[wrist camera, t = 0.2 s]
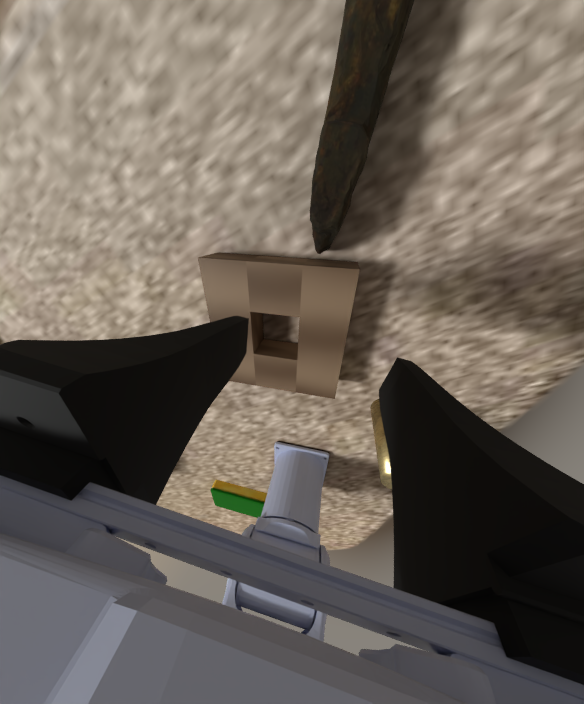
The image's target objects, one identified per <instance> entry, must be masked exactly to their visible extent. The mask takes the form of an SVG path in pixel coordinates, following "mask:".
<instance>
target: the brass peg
mask: <svg viewBox="0 0 584 704" xmlns="http://www.w3.org/2000/svg"><path fill="white" fill-rule="evenodd" d="M371 415H372V422H373V429H374V437H375V444H376V451H377V458H378V466H379V473H380V480H381V483H382V484H383V485H384V486H385V487H387V488H388V489H391V490H392V481H391V469H390V460H389V454H388V448H387V443H386V438H385V433H384V428H383V423H382V418H381V412H380V403H379V399H378V400H376V401H374V402H373V403H372V405H371Z"/></svg>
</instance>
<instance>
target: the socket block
mask: <svg viewBox="0 0 584 704" xmlns="http://www.w3.org/2000/svg"><path fill="white" fill-rule="evenodd" d="M198 261H199V266H200V272H201V277H202V282H203V287H204V292H205V297H206V303H207V308H208V313H209V318H210V322H213V321H217V320H220V319H224V318H227V317H231V316H241V317H245V318H249V324H248V338H247V352H246V355H245V357H244V359H243V360H242V362H241V364H240V366H239V368H238V369H237V370H236V372H235V373H234V375H233V376H232V377H231V379H230V380H229V381H233V382H239V383H245V384H251V385H257V386H263V387H269V388H274V389H280V390H286V391H292V392H298V393H304V394H309V395H315V396H321V397H327V398H333V399H335V395H336V389H337V384H338V379H339V374H340V369H341V364H342V359H343V354H344V348H345V343H346V338H347V333H348V328H349V323H350V318H351V312H352V307H353V302H354V297H355V292H356V287H357V282H358V276H359V271H360V268H359V265H358V262H348V261H333V260H318V259H304V258H289V257H274V256H259V255H245V254H230V253H214V254H210V255H206V256H202V257H198ZM262 313H267V314H276V315H285V316H294V317H300V321H299V339H298V343H290V342H283V341H275V340H268V339H264V335H263V314H262Z"/></svg>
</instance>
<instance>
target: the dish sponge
mask: <svg viewBox="0 0 584 704" xmlns="http://www.w3.org/2000/svg"><path fill="white" fill-rule="evenodd" d="M211 493H212V496H213V500H214V503H215V505H216V506H219V507H222V508H226V509H229V510H233V511H236V512H239V513H243V514H246V515H250V516H253V517H257V518H258V517H261V514H262V510H263V507H264V503H265V500H266V496H267V493H263V492H260V491H256V490H252V489H249V488H245V487H241V486H238V485H234V484H230V483H227V482H223V481H219V480H215V482H214V484H213V486H212V488H211Z"/></svg>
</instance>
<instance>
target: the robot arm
mask: <svg viewBox="0 0 584 704" xmlns="http://www.w3.org/2000/svg"><path fill="white" fill-rule="evenodd" d="M248 324H249V318H245V317H241V316H231V317H227V318H224V319H220V320H217V321H213V322H210V323H207V324H203V325H199V326H195V327H191V328H187V329H183V330H179V331H174V332H169V333H163V334H157V335H151V336H142V337H132V338H123V339H108V340H83V341H51V340H16V341H11V342H7V343H4V344H1V345H0V704H584V484H582V483H580V482H579V481H577V480H575V479H573V478H571V477H570V476H568V475H566V474H565V473H563V472H561V471H559V470H558V469H556V468H555V467H553V466H551V465H550V464H548V463H546V462H544V461H543V460H541V459H540V458H538V457H536V456H535V455H533V454H532V453H530V452H529V451H527V450H526V449H524V448H522V447H521V446H519V445H517V444H516V443H514V442H513V441H512V440H510V439H509V438H507V437H506V436H504V435H503V434H501V433H500V432H498V431H497V430H496V429H494V428H493V427H491V426H490V425H489V424H487V423H486V422H484V421H483V420H482V419H480V418H479V417H478V416H476V415H475V414H474V413H473V412H471V411H470V410H469V409H468V408H466V407H465V406H464V405H463V404H461V403H460V402H459V401H458V400H456V399H455V398H454V397H453V396H452V395H450V394H449V393H448V392H447V391H446V390H445V389H444V388H442V387H441V386H440V385H439V384H438V383H437V382H436V381H434V380H433V379H432V378H431V377H430V376H429V375H428V374H427V373H425V372H424V371H423V370H422V369H421V368H419V367H418V366H417V365H416V364H414V363H413V362H411V361H408V360H404V359H401V358H397V359H396V361H395V363H394V365H393V366H392V368H391V370H390V372H389V373H388V375H387V377H386V379H385V380H384V382H383V384H382V386H381V388H380V389H379V403H380V412H381V418H382V423H383V428H384V433H385V438H386V443H387V448H388V454H389V460H390V469H391V481H392V496H393V516H394V588H392V587H389V586H386V585H383V584H381V583H378V582H375V581H372V580H369V579H366V578H363V577H361V576H358V575H355V574H352V573H349V572H346V571H343V570H341V569H338V568H335V567H332V566H330V558H329V554H328V552H327V551H326V548H325V546H323V545H320V534H318V529H319V517H320V505H321V493H322V487H323V482H324V478H325V473H326V469H327V464H328V460H329V453H327V452H323V451H319V450H314V449H309V448H304V447H300V446H295V445H290V444H286V443H281V442H275V445H274V448H275V468H274V471H273V475H272V479H271V482H270V486H269V489H268V493H267V496H266V500H265V503H264V507H263V510H262V514H261V517H258V518H257V522H256V525H253V524H251V525H249V527H247V528H246V529H245V530H244V531H243V533H242V535H240V534H237V533H234V532H232V531H229V530H226V529H223V528H220V527H217V526H214V525H212V524H209V523H206V522H203V521H200V520H197V519H194V518H191V517H189V516H186V515H183V514H180V513H177V512H174V511H171V510H169V509H166V508H163V507H160V506H157V505H156V504H157V501H158V499H159V497H160V495H161V493H162V491H163V489H164V487H165V485H166V483H167V481H168V479H169V478H170V476H171V474H172V472H173V470H174V468H175V466H176V464H177V462H178V460H179V458H180V457H181V455H182V453H183V451H184V449H185V447H186V445H187V444H188V442H189V440H190V438H191V437H192V435H193V433H194V431H195V430H196V428H197V426H198V425H199V423H200V421H201V420H202V418H203V416H204V415H205V413H206V411H207V410H208V408H209V407H210V405H211V404H212V402H213V401H214V400H215V398H216V397H217V396H218V394H219V393H220V392H221V390H222V389H223V388H224V386H225V385H226V384H227V382H228V381H229V380H230V379H231V377H232V376H233V375H234V373H235V372H236V370H237V369H238V368H239V366H240V364H241V362H242V360H243V359H244V357H245V355H246V352H247V338H248ZM117 537H118V538H117ZM119 538H121V539H124V540H126V541H129V542H132V543H134V544H137V545H140V546H143V547H146V548H148V549H151V550H154V551H157V552H159V553H162V554H165V555H167V556H170V557H173V558H175V559H178V560H181V561H183V562H186V563H189V564H192V565H194V566H197V567H200V568H202V569H205V570H208V571H211V572H213V573H216V574H219V575H222V576H224V577H227V578H228V580H227V586H226V591H225V595H224V599H223V602H222V604H221V603H218V602H215V601H212V600H209V599H206V598H203V597H200V596H197V595H194V594H191V593H188V592H185V591H182V590H179V589H176V588H173V587H170V586H167V585H165V584H166V582H167V577H166V576H165V575H164V574H163V573H161V572H160V571H159V570H158V569H156V567H155V566H154V565H153V564H152V562H151V559H150V554H148V553H146V552H144V551H142V550H140V549H138V548H136V547H134V546H133V545H131V544H128V543H127V542H125V541H123V540H121V539H119ZM241 607H244V608H247V609H250V610H253V611H255V612H258V613H261V614H264V615H267V616H269V617H272V618H275V619H278V620H280V621H283V622H286V623H289V624H292V625H294V626H297V627H300V628H303V629H305V630H304V631H303V632H301V633H300V632H297V631H294V630H292V629H289V628H286V627H283V626H281V625H278V624H276V623H273V622H270V621H268V620H265V619H263V618H260V617H257V616H254V615H251V614H249V613H246V612H243V611H242V609H241ZM327 614H328V615H330V616H333V617H336V618H339V619H341V620H344V621H347V622H349V623H352V624H355V625H358V626H360V627H363V628H366V629H368V630H371V631H374V632H377V633H379V634H382V635H385V636H387V637H391V638H393V639H396V640H399V641H401V642H404V643H406V644H409V645H412V646H415V647H417V648H420V649H423V650H425V651H423V650H419V649H415V648H411V647H407V646H403V645H398V644H395V645H394V646H393V647H392V648H390V649H384V650H369V649H361V650H360V652H359V656H357V655H355V654H352V653H350V652H347V651H345V650H342V649H340V648H337V647H335V646H332V645H330V644H327V643H325V642H323V641H324V630H325V622H326V617H327Z"/></svg>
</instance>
